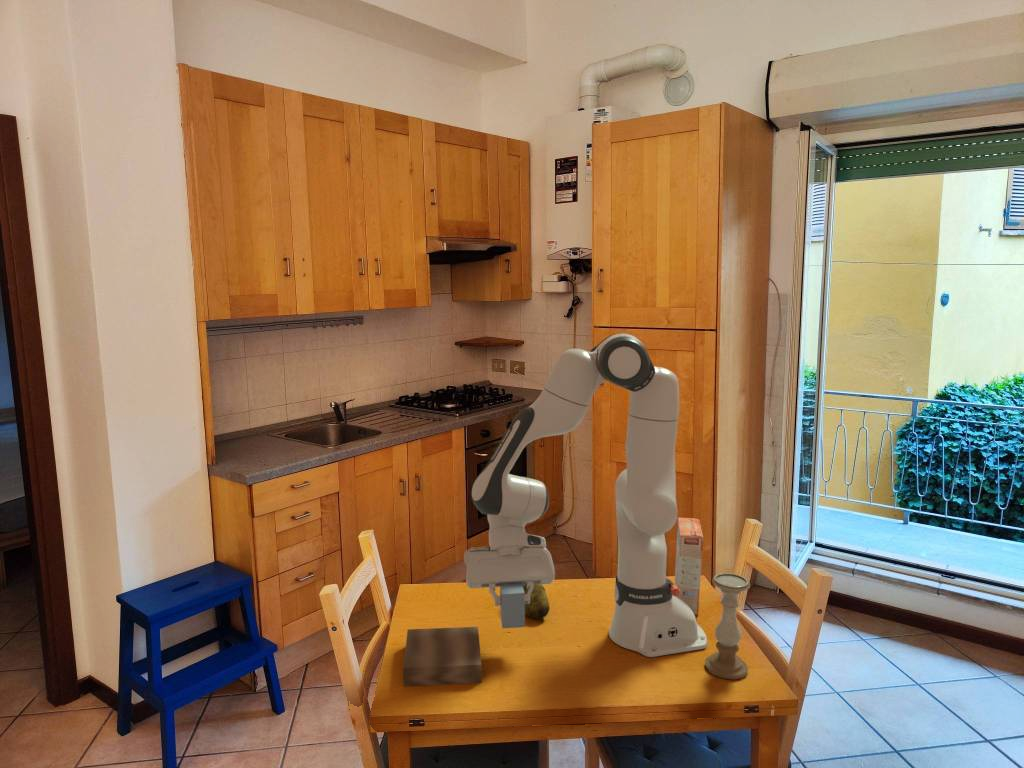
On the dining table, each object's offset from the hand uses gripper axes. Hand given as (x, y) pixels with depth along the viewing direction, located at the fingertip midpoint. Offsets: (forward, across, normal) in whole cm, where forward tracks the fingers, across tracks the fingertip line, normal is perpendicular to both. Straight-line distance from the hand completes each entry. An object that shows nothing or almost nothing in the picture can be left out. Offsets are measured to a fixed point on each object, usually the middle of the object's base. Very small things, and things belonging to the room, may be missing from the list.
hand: (512, 604), depth 154 cm
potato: (-6, +6, +22) cm, 24 cm away
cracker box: (-6, +47, +24) cm, 53 cm away
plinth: (+10, -16, +6) cm, 20 cm away
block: (+3, 0, +4) cm, 5 cm away
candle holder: (+16, +45, +2) cm, 48 cm away
